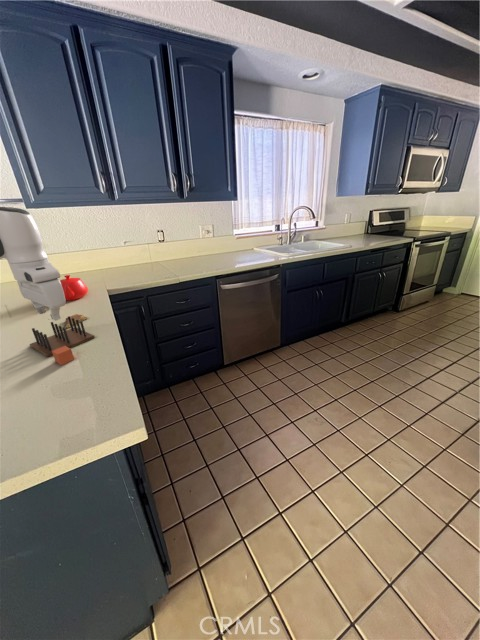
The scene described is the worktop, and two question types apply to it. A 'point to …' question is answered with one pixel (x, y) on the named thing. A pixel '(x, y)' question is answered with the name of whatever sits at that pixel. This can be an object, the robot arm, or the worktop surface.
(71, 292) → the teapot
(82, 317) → the shard
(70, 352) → the block
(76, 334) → the dish rack
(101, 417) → the worktop surface
